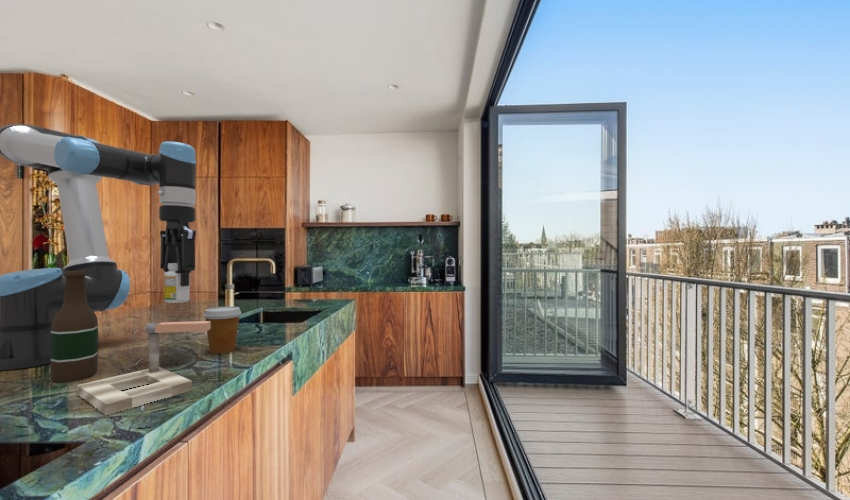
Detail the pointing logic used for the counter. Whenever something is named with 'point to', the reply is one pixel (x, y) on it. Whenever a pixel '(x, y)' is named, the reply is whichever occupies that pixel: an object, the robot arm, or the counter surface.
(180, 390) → the keeper board
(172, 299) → the supplement bottle
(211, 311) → the disposable coffee cup
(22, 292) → the robot arm
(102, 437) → the counter surface
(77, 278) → the beer bottle
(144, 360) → the counter surface
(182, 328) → the bar
